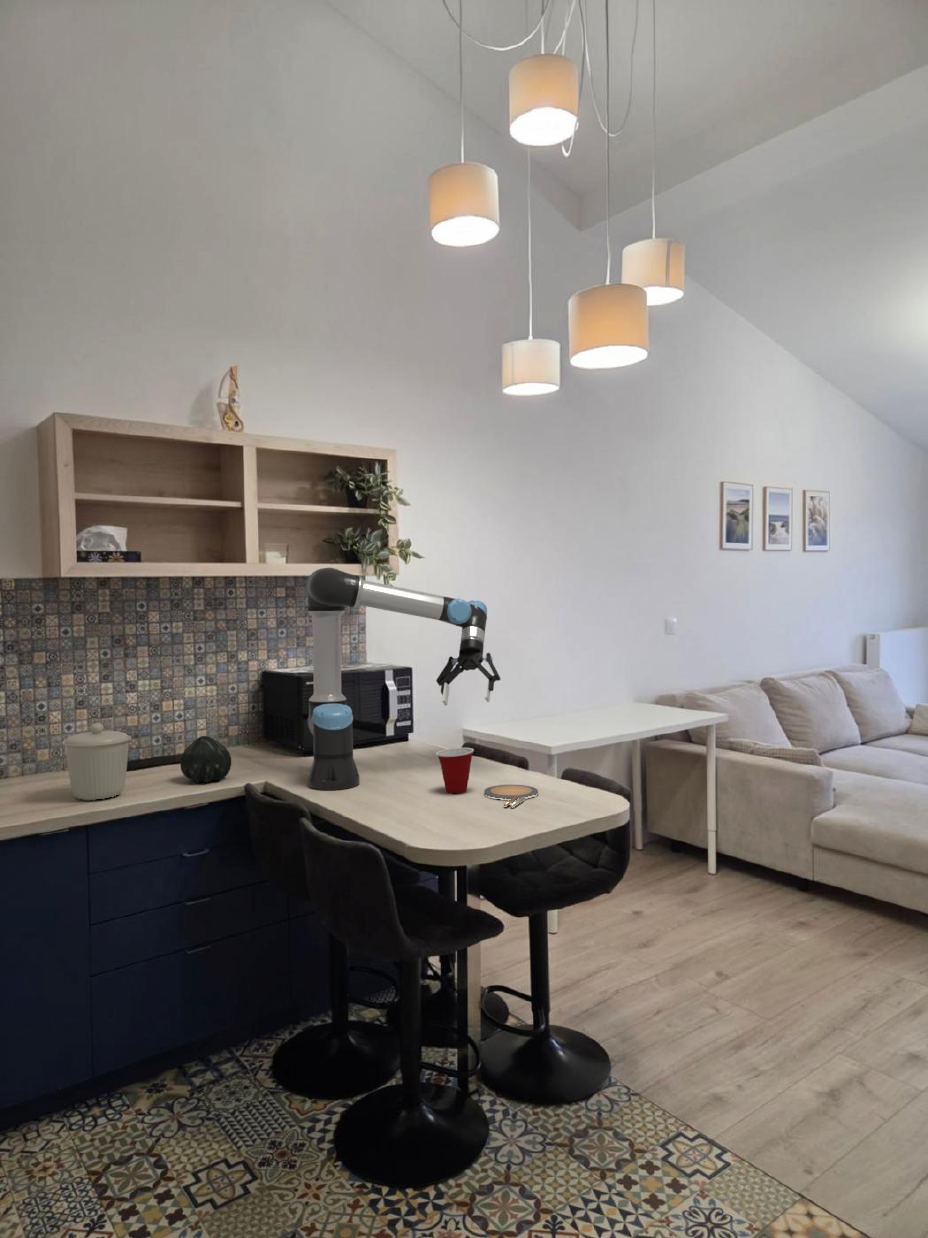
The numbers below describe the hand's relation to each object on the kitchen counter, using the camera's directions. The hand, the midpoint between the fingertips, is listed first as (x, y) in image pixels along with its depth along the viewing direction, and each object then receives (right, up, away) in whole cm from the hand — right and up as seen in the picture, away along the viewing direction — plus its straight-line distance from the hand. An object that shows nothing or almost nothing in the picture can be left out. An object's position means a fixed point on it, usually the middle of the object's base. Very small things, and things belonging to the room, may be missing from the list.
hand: (465, 701), depth 258 cm
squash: (-80, -25, +3) cm, 83 cm away
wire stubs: (+13, -24, -32) cm, 42 cm away
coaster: (+13, -24, -21) cm, 34 cm away
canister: (-105, -26, -16) cm, 109 cm away
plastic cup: (-3, -24, -17) cm, 30 cm away
